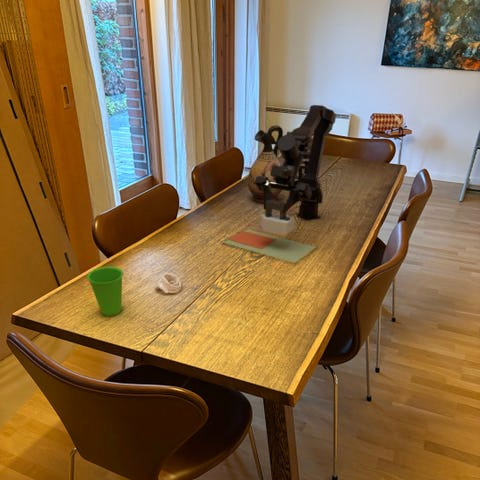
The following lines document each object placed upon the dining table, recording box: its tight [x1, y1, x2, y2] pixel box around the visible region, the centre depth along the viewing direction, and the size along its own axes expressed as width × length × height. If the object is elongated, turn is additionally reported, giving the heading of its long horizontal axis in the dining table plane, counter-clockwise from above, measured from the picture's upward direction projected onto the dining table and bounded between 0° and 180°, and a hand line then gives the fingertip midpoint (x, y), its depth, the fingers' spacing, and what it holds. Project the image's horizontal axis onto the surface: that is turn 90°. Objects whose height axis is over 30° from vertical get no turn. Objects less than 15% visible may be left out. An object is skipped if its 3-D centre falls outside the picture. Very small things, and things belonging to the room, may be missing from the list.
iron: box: [255, 200, 295, 239], centre depth 155 cm, size 11×6×10 cm, turn 60°
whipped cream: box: [155, 272, 182, 294], centre depth 135 cm, size 8×7×5 cm
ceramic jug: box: [247, 124, 284, 204], centre depth 195 cm, size 17×15×30 cm
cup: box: [86, 266, 124, 317], centre depth 123 cm, size 9×9×11 cm
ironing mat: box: [223, 228, 317, 264], centre depth 162 cm, size 28×15×1 cm, turn 56°
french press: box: [293, 149, 311, 186], centre depth 208 cm, size 12×9×23 cm
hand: (273, 210), depth 153 cm, fingers closed on iron, 7 cm apart
